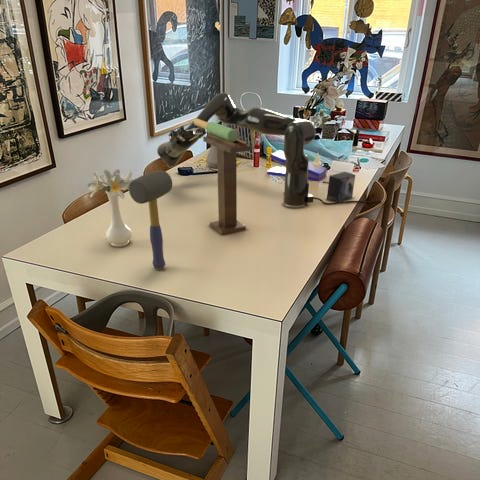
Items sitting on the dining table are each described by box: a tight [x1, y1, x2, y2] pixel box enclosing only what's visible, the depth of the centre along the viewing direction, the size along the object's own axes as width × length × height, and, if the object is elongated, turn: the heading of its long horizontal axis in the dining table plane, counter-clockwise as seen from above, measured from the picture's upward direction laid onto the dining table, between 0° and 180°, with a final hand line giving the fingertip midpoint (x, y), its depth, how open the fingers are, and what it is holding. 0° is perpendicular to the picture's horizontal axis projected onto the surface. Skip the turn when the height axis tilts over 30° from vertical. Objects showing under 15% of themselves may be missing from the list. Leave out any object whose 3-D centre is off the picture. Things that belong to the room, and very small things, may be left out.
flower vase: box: [87, 169, 136, 248], centre depth 162 cm, size 13×18×25 cm
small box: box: [326, 171, 356, 203], centre depth 206 cm, size 11×6×10 cm, turn 131°
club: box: [193, 118, 239, 142], centre depth 169 cm, size 28×4×4 cm, turn 30°
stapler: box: [266, 149, 328, 182], centre depth 237 cm, size 12×28×10 cm, turn 63°
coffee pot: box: [205, 138, 246, 169], centre depth 248 cm, size 21×12×15 cm, turn 68°
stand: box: [202, 132, 252, 236], centre depth 172 cm, size 20×10×32 cm, turn 30°
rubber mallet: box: [128, 169, 173, 271], centre depth 144 cm, size 12×8×30 cm, turn 150°
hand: (193, 127), depth 183 cm, fingers open, 8 cm apart
